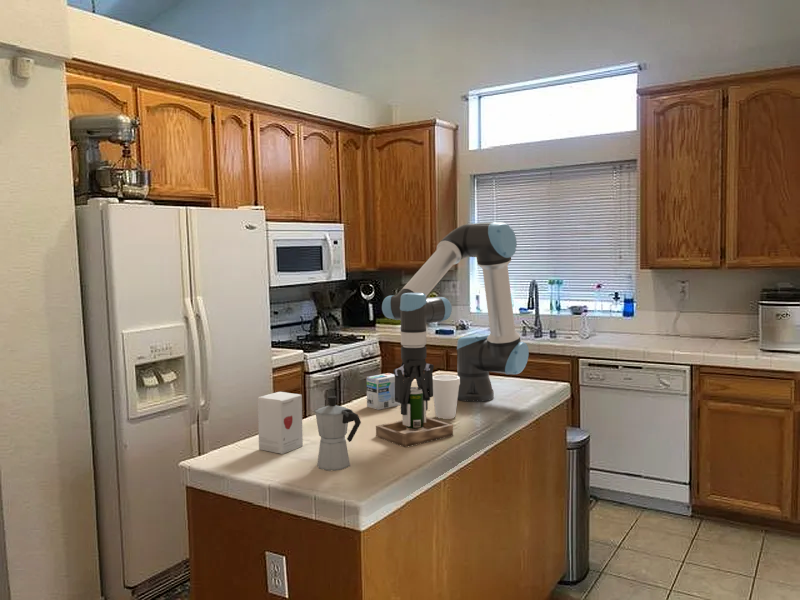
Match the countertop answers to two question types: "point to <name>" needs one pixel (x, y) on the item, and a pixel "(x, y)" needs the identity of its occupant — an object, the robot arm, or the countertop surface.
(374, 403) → the light bulb box
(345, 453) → the coffee maker
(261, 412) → the supplement box
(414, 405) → the beer can
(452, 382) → the foam cup
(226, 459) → the countertop surface
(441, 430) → the tray
